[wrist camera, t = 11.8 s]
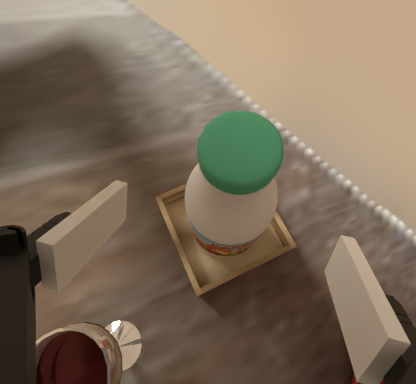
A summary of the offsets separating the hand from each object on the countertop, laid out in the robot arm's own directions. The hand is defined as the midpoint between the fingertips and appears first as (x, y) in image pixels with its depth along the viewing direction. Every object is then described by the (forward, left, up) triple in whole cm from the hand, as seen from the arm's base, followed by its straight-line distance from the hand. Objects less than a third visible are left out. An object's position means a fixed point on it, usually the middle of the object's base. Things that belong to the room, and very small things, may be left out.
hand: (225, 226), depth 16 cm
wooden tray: (-3, +2, -17) cm, 17 cm away
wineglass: (+4, -14, -17) cm, 23 cm away
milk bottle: (-3, +2, -16) cm, 17 cm away
